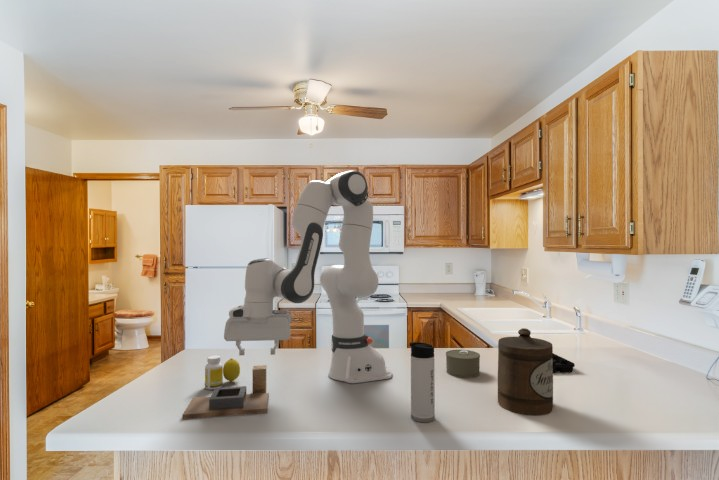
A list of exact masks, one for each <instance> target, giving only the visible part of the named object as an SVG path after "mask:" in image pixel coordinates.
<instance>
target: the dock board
mask: <svg viewBox="0 0 719 480" xmlns="http://www.w3.org/2000/svg"><path fill="white" fill-rule="evenodd" d="M210 397H211V396H203V397H192V399H191V400H190V402H189V403H188V405H187V407H186V408H185V410H184V412H183V413H182V420H187V419H202V418H214V417H230V416H241V415H242V416H243V415H257V414H268V407H269V400H270V398H269V397H270V394H269V392H266V393H260V394H253V393H246V400H245V403H244V407H243V408H237V409H223V410H209V399H210Z"/></svg>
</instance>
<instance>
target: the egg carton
mask: <svg viewBox="0 0 719 480" xmlns="http://www.w3.org/2000/svg"><path fill="white" fill-rule="evenodd" d="M552 360H553V374H555V373H557V372H558V373H562V374H567V373H570V374H572V372H574V368H575V363H574V362H573V361H570V360H568V359H566V358H564V357H562V356H559V355H558V354H556V353H554V352H553V355H552Z"/></svg>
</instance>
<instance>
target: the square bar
mask: <svg viewBox="0 0 719 480" xmlns="http://www.w3.org/2000/svg"><path fill="white" fill-rule="evenodd" d="M260 393H267V364H263V365H260V364H259V365H253V368H252V394H260Z"/></svg>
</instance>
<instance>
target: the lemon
mask: <svg viewBox="0 0 719 480" xmlns="http://www.w3.org/2000/svg"><path fill="white" fill-rule="evenodd" d="M240 373H241V367H240V363H239V361H237V360H236V359H234V358H229V360H227V361H225V363H224V364H223V379H225V380H227V381H229V382H230V383H233V382H234V381H235V380H237V379H238V378H239V377H240Z"/></svg>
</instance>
